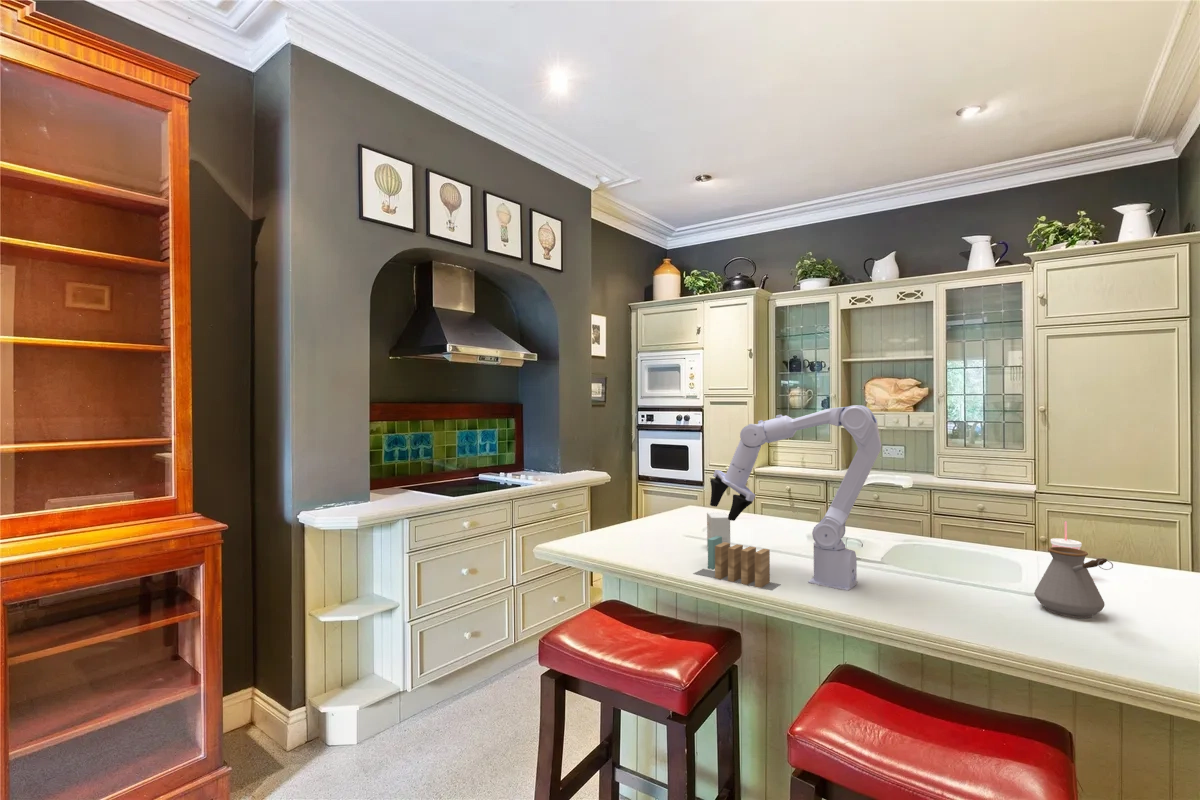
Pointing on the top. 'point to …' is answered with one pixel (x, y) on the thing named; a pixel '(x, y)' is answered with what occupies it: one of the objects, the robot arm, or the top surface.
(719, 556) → the domino
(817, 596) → the top surface
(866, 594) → the top surface
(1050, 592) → the coffee pot
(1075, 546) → the beverage cup
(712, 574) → the mat
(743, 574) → the domino
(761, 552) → the domino
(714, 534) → the small box
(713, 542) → the teal domino
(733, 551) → the domino
